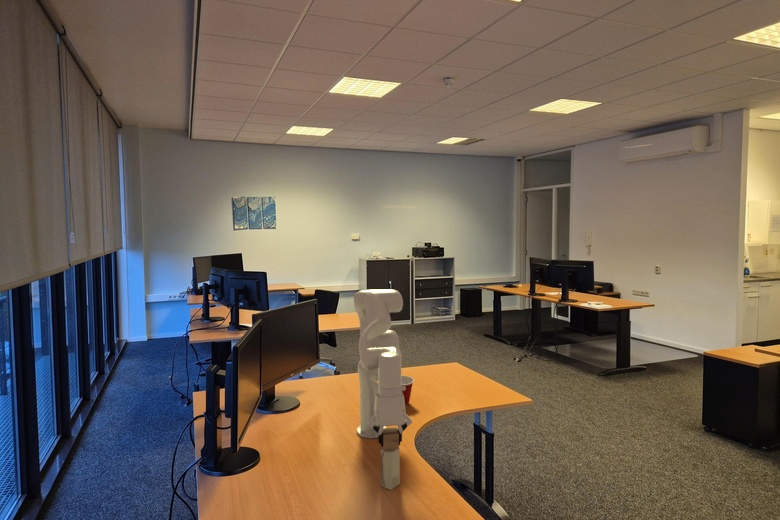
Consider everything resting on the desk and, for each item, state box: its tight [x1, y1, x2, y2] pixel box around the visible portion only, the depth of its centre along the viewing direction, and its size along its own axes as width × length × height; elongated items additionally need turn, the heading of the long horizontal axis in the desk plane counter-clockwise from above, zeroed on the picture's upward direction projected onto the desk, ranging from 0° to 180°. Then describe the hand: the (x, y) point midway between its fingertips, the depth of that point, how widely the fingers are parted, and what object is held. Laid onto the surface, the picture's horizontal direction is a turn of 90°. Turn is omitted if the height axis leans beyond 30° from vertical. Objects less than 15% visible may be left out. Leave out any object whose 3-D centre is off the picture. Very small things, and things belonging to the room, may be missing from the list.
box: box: [380, 447, 401, 491], centre depth 157 cm, size 5×4×13 cm
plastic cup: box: [401, 375, 415, 406], centre depth 228 cm, size 11×11×12 cm
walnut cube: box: [382, 427, 400, 450], centre depth 156 cm, size 5×5×5 cm
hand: (390, 443), depth 156 cm, fingers closed on walnut cube, 4 cm apart
